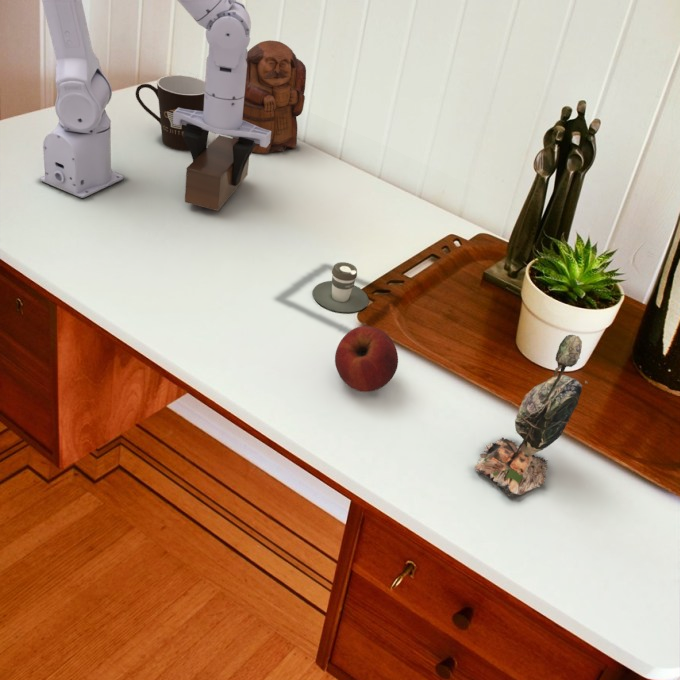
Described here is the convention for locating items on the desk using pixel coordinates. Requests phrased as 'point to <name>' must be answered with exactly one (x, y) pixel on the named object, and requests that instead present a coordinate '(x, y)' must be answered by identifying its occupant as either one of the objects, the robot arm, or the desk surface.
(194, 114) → the robot arm
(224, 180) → the pencil box
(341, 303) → the coffee cup
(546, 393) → the plant with pod
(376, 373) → the apple
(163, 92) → the coffee mug
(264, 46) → the wooden figurine
